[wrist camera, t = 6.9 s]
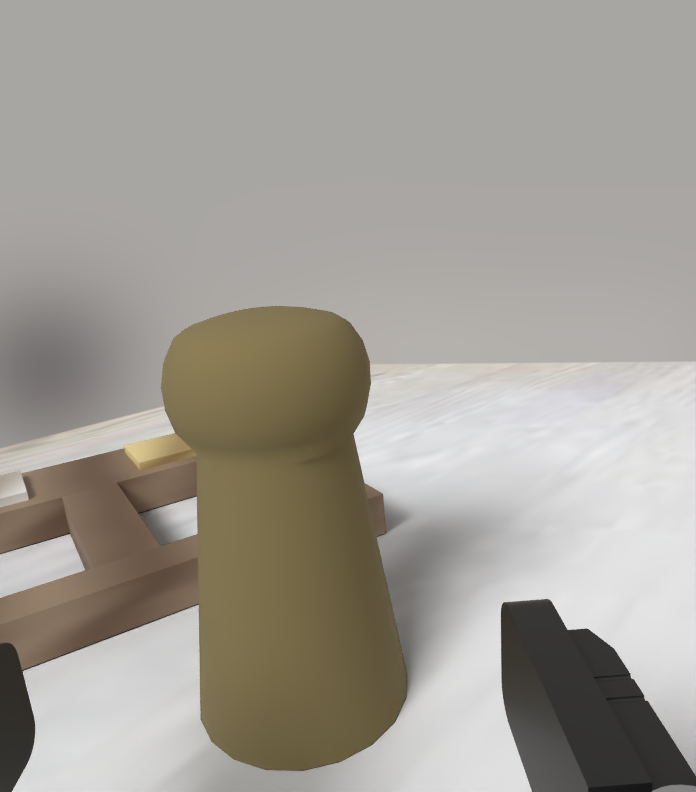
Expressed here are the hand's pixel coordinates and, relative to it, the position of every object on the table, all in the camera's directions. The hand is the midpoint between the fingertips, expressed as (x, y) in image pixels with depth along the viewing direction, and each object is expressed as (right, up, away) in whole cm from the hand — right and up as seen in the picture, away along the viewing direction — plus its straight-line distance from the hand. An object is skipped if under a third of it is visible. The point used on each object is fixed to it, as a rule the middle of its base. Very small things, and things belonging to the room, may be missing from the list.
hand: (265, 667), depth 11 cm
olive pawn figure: (0, -4, +8) cm, 9 cm away
